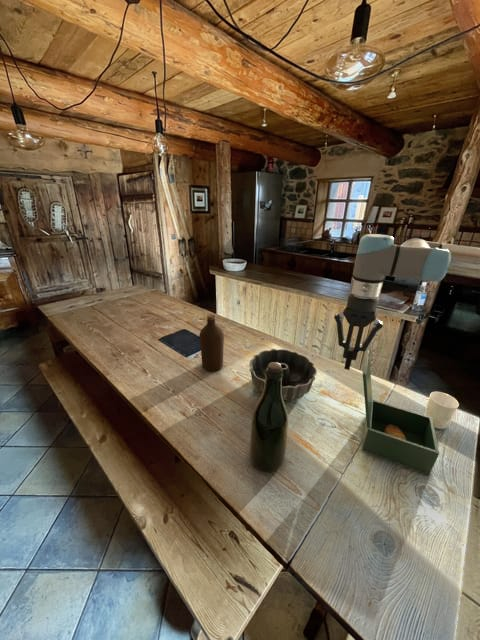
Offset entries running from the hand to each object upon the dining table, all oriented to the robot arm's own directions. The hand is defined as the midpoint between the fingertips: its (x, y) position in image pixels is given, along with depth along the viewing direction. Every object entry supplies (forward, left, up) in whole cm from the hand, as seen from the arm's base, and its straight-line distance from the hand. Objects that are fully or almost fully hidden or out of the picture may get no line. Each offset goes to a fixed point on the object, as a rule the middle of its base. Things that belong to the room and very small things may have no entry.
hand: (347, 367), depth 81 cm
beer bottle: (+16, +23, -24) cm, 37 cm away
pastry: (-18, 0, -23) cm, 29 cm away
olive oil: (+55, -9, -24) cm, 60 cm away
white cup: (-31, -17, -24) cm, 42 cm away
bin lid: (-7, 0, -5) cm, 9 cm away
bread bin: (-18, 0, -23) cm, 30 cm away
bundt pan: (+23, -10, -24) cm, 34 cm away
